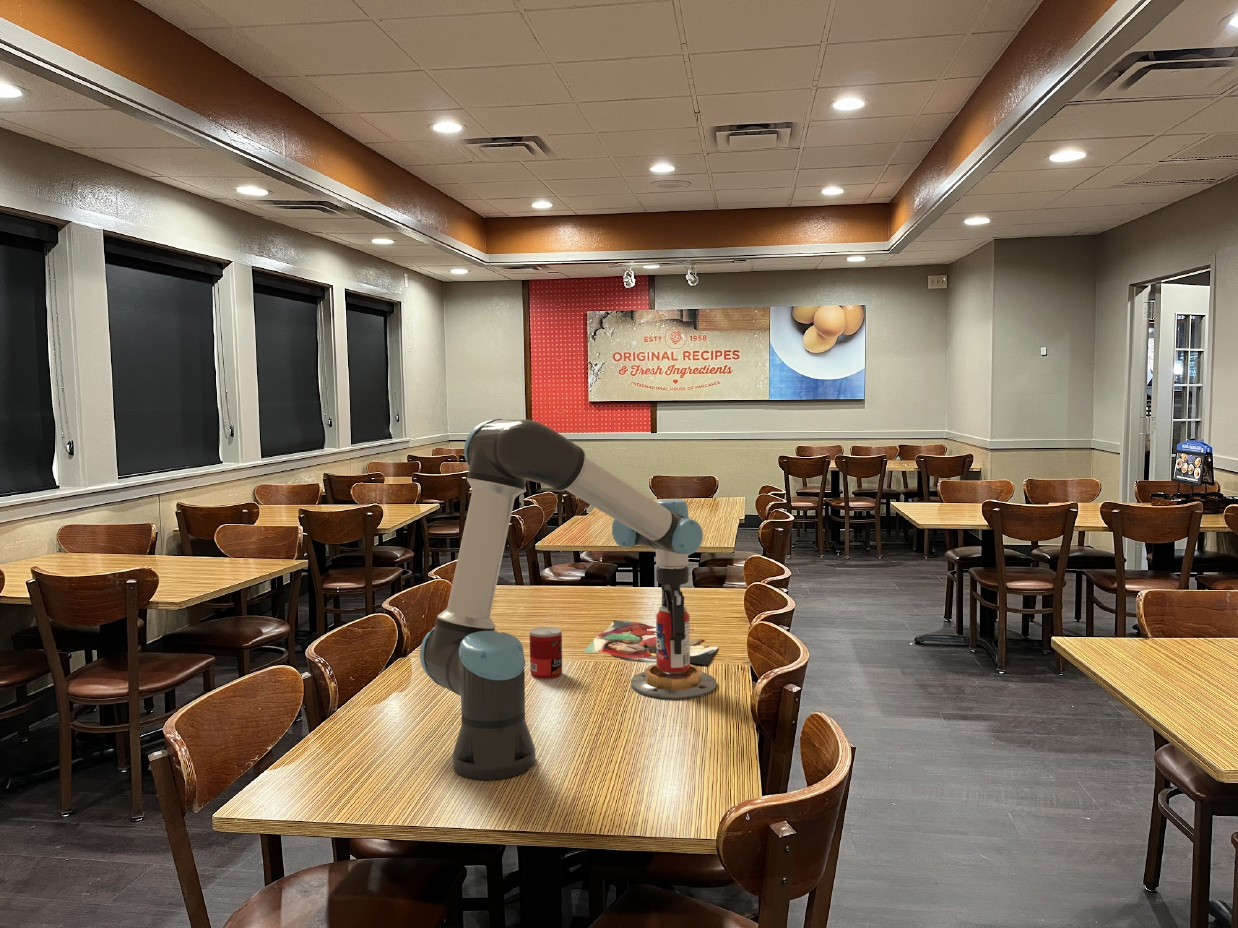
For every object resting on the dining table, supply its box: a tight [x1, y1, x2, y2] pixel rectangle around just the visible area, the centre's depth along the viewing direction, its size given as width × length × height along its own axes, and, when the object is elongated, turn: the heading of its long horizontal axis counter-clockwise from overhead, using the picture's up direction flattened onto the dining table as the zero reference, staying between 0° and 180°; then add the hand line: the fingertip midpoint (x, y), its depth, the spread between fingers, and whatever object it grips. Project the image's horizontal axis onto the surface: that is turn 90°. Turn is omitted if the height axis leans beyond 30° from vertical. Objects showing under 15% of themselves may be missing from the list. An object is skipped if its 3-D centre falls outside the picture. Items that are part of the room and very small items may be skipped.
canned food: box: [529, 626, 563, 680], centre depth 212 cm, size 8×8×11 cm
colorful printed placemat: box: [582, 619, 720, 666], centre depth 238 cm, size 35×35×2 cm
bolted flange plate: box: [630, 663, 717, 700], centre depth 203 cm, size 20×20×4 cm
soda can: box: [655, 605, 691, 674], centre depth 202 cm, size 8×8×15 cm
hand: (672, 661), depth 202 cm, fingers closed on soda can, 8 cm apart
